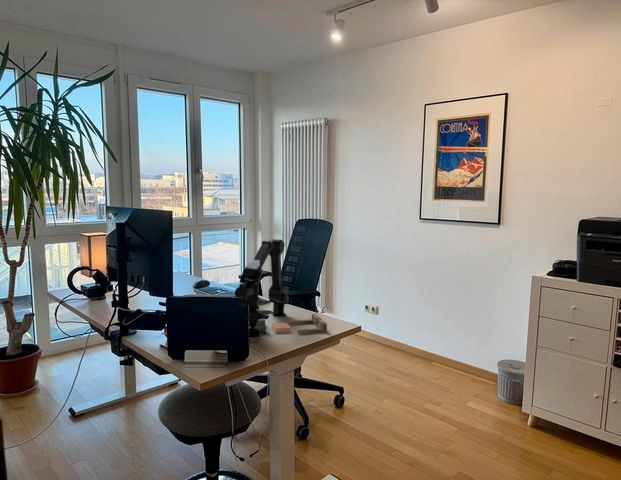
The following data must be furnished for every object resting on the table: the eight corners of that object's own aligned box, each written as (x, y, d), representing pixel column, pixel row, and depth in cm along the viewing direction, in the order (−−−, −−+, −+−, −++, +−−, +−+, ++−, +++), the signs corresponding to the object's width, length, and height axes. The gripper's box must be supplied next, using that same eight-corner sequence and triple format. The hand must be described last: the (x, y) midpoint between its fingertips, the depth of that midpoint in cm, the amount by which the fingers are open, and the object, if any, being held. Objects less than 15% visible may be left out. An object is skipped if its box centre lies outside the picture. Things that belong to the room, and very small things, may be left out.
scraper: (239, 334, 187) (239, 323, 186) (236, 329, 193) (236, 318, 193) (267, 332, 191) (268, 321, 190) (264, 327, 198) (264, 316, 197)
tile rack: (289, 323, 206) (290, 315, 205) (315, 321, 210) (315, 313, 209) (299, 334, 192) (299, 325, 191) (326, 332, 196) (327, 323, 195)
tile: (271, 328, 199) (271, 323, 198) (286, 327, 201) (286, 322, 201) (275, 334, 192) (275, 328, 192) (290, 332, 194) (290, 327, 194)
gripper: (230, 290, 196) (229, 323, 198) (237, 301, 179) (236, 337, 181) (254, 289, 200) (253, 321, 202) (263, 300, 182) (262, 335, 184)
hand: (251, 328), depth 192 cm, fingers closed on scraper, 3 cm apart
